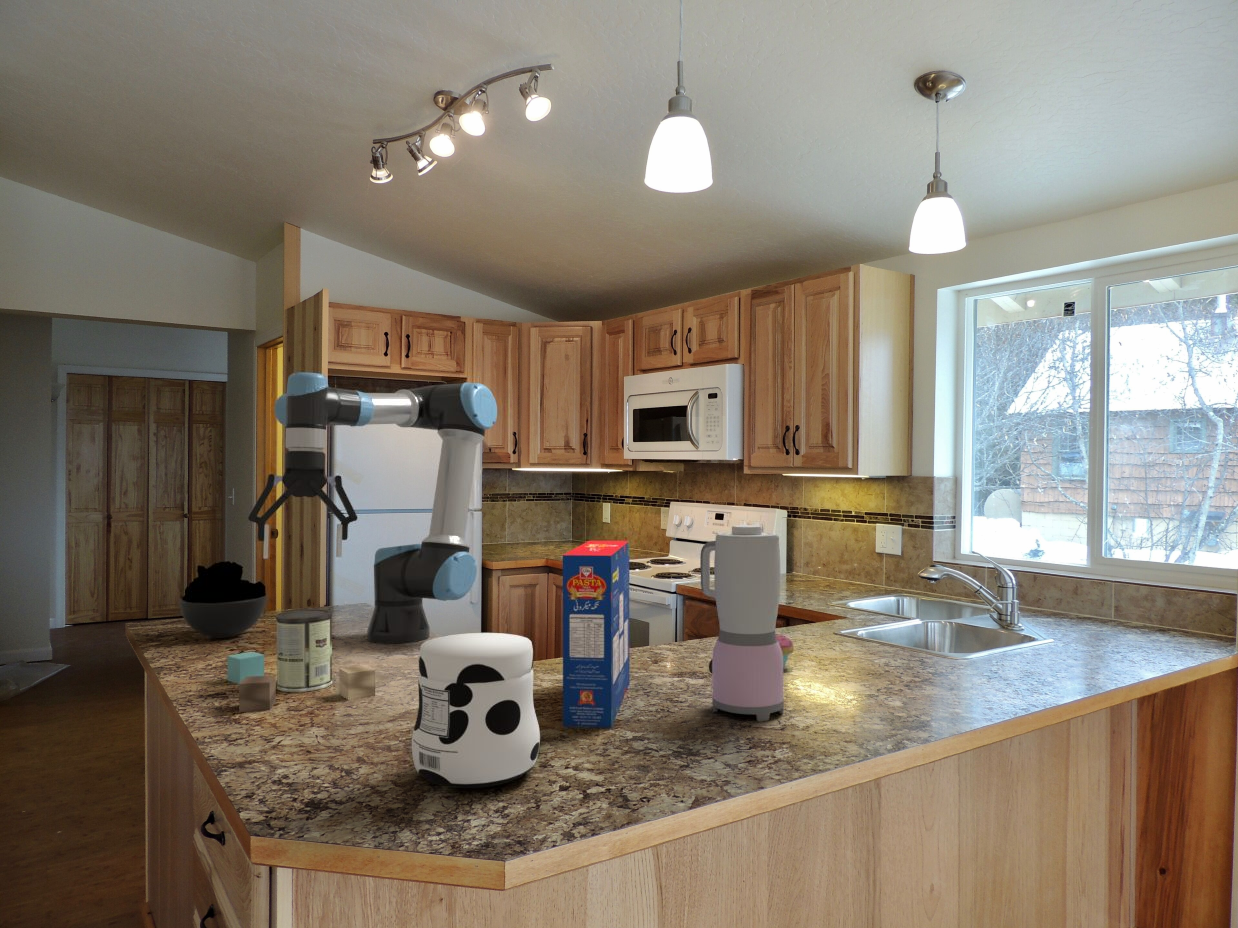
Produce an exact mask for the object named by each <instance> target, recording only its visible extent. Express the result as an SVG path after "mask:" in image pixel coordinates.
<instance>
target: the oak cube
mask: <svg viewBox="0 0 1238 928" xmlns="http://www.w3.org/2000/svg"><path fill="white" fill-rule="evenodd" d="M338 673H339V677H338V679H339V681H338V684H339V691H338V692H339V696H341V697H342V696H343V697H342V698H344V699H345V698H346V700H347V699H348V700H350V701H353V700H352V699H355V700H359V699H358V698H361V699H366V698H365V697H367V698H372V697H371V696H373V697H376V669H375V668H373V667H371V666H369V665H367V664H362V665H354V666H347V667H340V668H339V672H338ZM348 700H347V701H348Z"/></svg>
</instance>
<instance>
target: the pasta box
mask: <svg viewBox="0 0 1238 928" xmlns="http://www.w3.org/2000/svg"><path fill="white" fill-rule="evenodd" d="M630 645H631V644H630V540H587V541H586V542H584V543H583V544H581V545H578V546H576V547H575V548H573V549H571V550H569V551H568V552H566V553H564V554H562V726H563V727H580V728H581V727H583V728H605V729H606V728H608V729H612V728H613V725H614V722H615V721H616V718H617V715H618V713H619V710H620V708H621V705H622V704H623V700H624V698H625V696H626V693H627V691H628V689H629V686H630V681H631V679H630V677H631V675H630V667H631V666H630V663H631V661H630V658H631V657H630Z"/></svg>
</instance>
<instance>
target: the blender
mask: <svg viewBox="0 0 1238 928" xmlns="http://www.w3.org/2000/svg"><path fill="white" fill-rule="evenodd" d="M762 527H763V526H761V525H752V524H751V525H750V524H749V525H748V524H747V525H739V524H738V525H732V526H731V531H730V532H729V531H727V532H726V531H725V532H718V533H717V534H716V535H715V540H710V541H707V542H706V543H704V545H702V547H701V550H700V557H699V558H700V588H701V592H702V594H703V595H704V596H706V597H707V598H710V599H714V600H715V604H716V609H717V610H716V611H717V616H718V622H719V633H718V638H717V640H716V641H715V644H714V646H713V650H712V659H710V660H709V662H708V663H709V664H708V670H709V673H710V674H711V675H712V676H711V678H712V695H711V696H712V703H711V704H712V711H713V712H715V713H716V712H718V710H720V711H724V712H728V713H732V714H739V715H755V716H756V721H757V722H767V721H769V720H770V714H773V713H777V712H778V713H779V714H784V708H785V707H784V706H785V699H784V669H783V654H782V650H781V647H780V645H779V643H778V641H777V638H776V634H777V633H776V623H777V617H778V613H779V611H778V610H779V605H780V597H781V553H780V536H779V535H778V534H777V533H773V532H763V528H762ZM713 551H714V562H713V563H714V564H713V566H714V567H713V568H714V570H713V571H714V577H713V578H714V582H713V583H714V588H712V587H711V553H712V552H713Z"/></svg>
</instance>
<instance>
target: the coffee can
mask: <svg viewBox="0 0 1238 928" xmlns="http://www.w3.org/2000/svg"><path fill="white" fill-rule="evenodd" d="M332 618H333V611H332V610H330V609H323V608H305V609H304V608H303V609H295V610H288V611H284V612H279V613H277V614H276V615H275V619H276V690H278V691H281V692H285V693H305V692H313V691H317V690H318V691H319V690H321V689H325V688H328V687H330V686H331V685H333V636H332V635H333V632H332V631H333V629H332V628H333V621H332Z"/></svg>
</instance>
